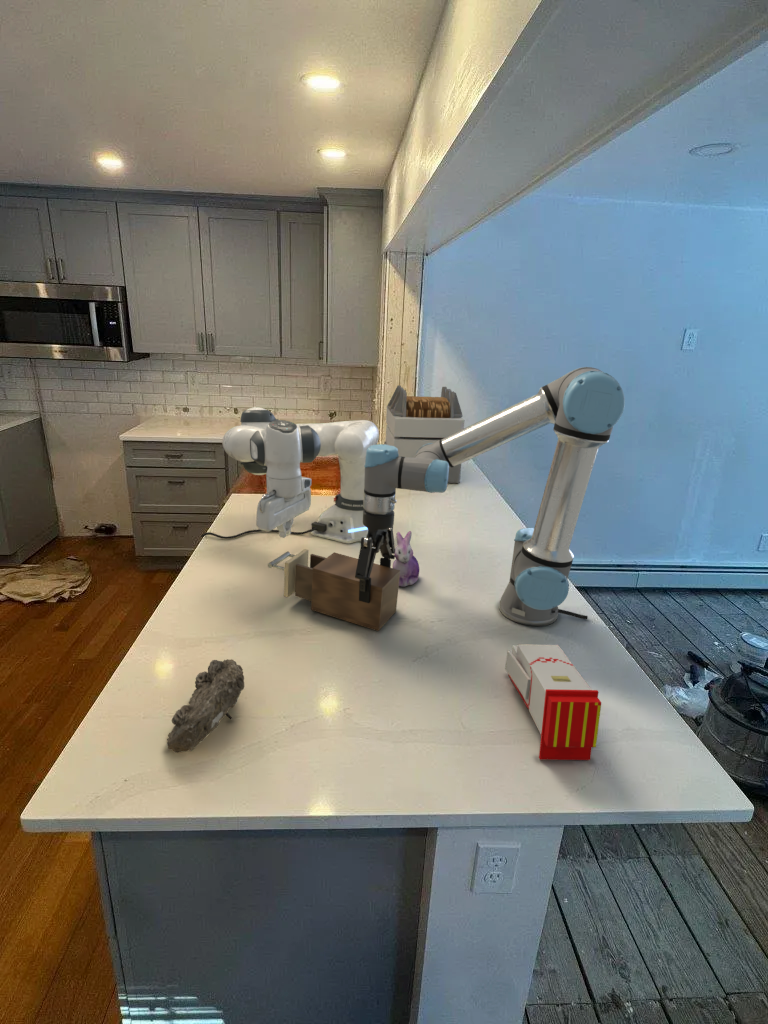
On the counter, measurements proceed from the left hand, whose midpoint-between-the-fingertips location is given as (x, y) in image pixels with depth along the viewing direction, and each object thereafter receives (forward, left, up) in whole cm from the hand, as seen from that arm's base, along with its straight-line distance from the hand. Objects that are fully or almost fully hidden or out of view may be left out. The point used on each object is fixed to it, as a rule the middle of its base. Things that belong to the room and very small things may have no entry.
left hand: (285, 535), depth 149 cm
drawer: (+9, -1, -15) cm, 18 cm away
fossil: (+8, -50, -17) cm, 53 cm away
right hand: (+26, -4, -10) cm, 28 cm away
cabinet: (+21, -3, -17) cm, 27 cm away
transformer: (+8, +134, -17) cm, 135 cm away
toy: (+69, -27, -17) cm, 76 cm away
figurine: (+29, +19, -17) cm, 39 cm away
